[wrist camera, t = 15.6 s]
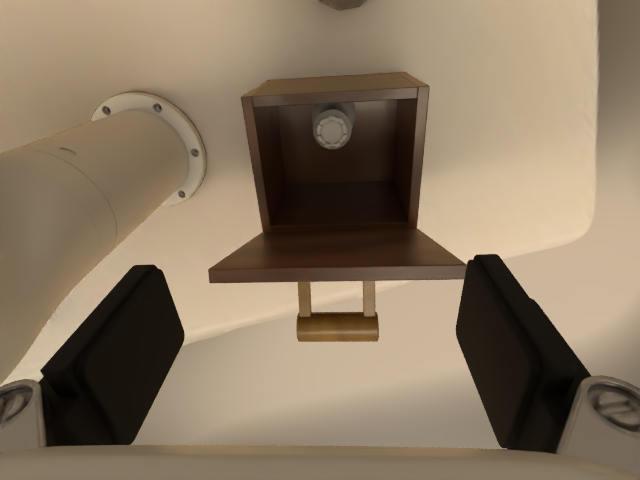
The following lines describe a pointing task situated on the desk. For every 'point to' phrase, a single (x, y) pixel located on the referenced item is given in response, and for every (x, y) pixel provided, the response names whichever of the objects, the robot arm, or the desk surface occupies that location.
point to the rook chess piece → (333, 123)
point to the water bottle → (343, 3)
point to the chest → (338, 153)
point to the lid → (338, 271)
